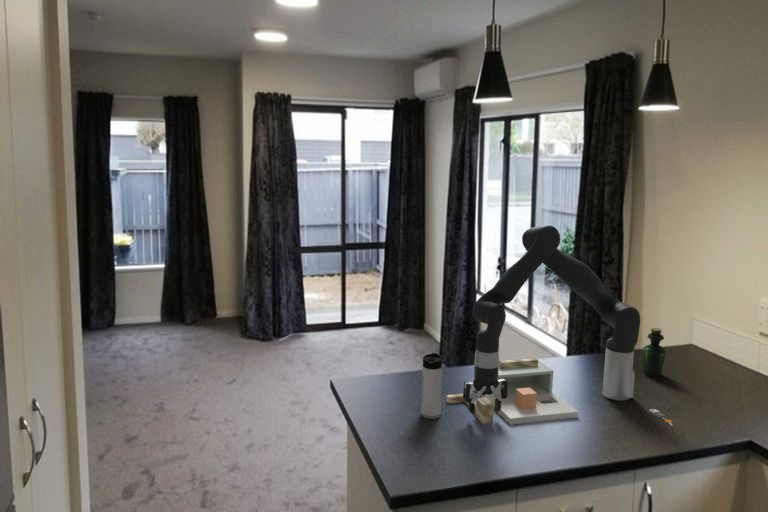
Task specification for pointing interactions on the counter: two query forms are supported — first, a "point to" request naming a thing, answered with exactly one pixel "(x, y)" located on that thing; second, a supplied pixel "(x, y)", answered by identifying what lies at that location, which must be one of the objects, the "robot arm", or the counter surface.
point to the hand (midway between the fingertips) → (484, 412)
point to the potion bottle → (654, 354)
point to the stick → (518, 363)
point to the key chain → (658, 415)
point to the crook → (476, 407)
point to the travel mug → (431, 386)
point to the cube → (526, 398)
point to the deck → (537, 381)
